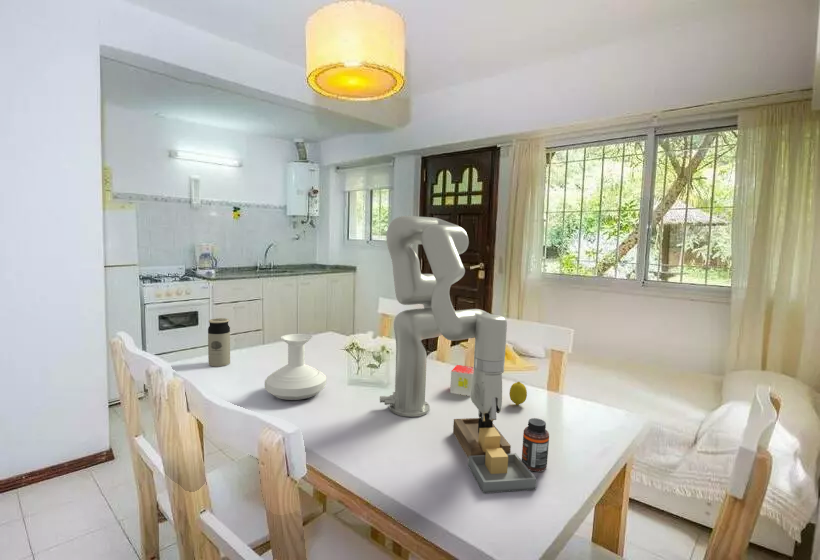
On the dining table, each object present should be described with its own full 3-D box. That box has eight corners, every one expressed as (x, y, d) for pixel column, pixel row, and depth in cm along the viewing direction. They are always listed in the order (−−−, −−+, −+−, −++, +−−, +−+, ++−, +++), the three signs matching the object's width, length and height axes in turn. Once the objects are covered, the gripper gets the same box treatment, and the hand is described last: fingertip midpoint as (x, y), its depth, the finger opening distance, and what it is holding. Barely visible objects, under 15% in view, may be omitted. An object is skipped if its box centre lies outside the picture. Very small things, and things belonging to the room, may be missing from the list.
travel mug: (216, 360, 176) (215, 317, 174) (234, 361, 175) (233, 318, 173) (204, 366, 168) (203, 321, 166) (223, 367, 167) (222, 322, 165)
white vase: (323, 381, 156) (323, 329, 154) (329, 402, 137) (330, 343, 135) (265, 385, 150) (265, 331, 148) (264, 407, 131) (264, 346, 129)
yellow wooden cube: (484, 464, 102) (490, 473, 98) (485, 448, 102) (491, 457, 98) (500, 463, 103) (507, 473, 99) (501, 447, 102) (508, 456, 98)
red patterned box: (450, 392, 149) (451, 371, 148) (455, 385, 157) (456, 364, 156) (472, 396, 147) (473, 374, 146) (477, 389, 154) (478, 367, 153)
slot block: (470, 463, 103) (471, 447, 103) (453, 432, 119) (453, 418, 119) (509, 461, 105) (510, 445, 105) (487, 431, 121) (488, 417, 120)
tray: (483, 493, 92) (483, 482, 91) (467, 465, 102) (468, 455, 102) (535, 489, 94) (536, 478, 93) (515, 462, 104) (515, 453, 104)
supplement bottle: (517, 459, 106) (520, 415, 105) (541, 459, 106) (544, 415, 105) (526, 473, 100) (529, 426, 99) (550, 472, 101) (554, 426, 99)
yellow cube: (483, 451, 103) (485, 436, 103) (478, 442, 107) (479, 428, 106) (499, 451, 104) (500, 436, 103) (493, 442, 108) (494, 427, 107)
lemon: (526, 409, 137) (528, 385, 136) (508, 407, 138) (510, 383, 137) (525, 403, 142) (527, 379, 142) (508, 401, 144) (510, 378, 143)
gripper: (465, 355, 113) (462, 422, 115) (485, 374, 99) (480, 449, 101) (492, 355, 115) (488, 420, 117) (515, 373, 100) (510, 448, 102)
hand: (484, 434), depth 109 cm, fingers closed
